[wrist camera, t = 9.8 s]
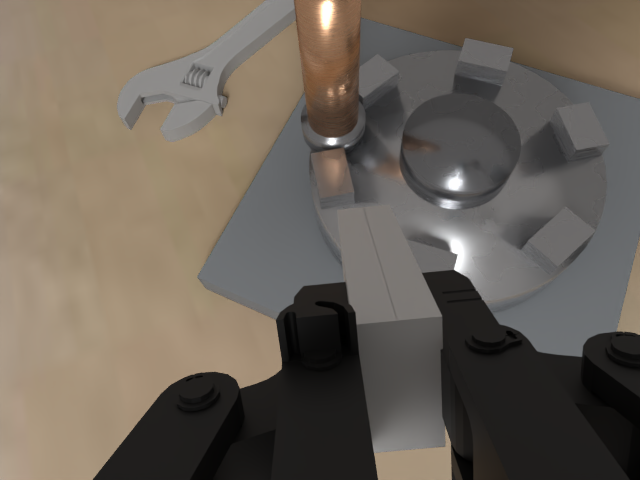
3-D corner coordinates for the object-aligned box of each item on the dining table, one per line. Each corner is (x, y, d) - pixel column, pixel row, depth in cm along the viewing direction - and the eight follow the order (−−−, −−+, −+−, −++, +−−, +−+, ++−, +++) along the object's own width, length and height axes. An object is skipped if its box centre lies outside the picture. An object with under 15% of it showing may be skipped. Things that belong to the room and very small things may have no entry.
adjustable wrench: (356, -58, 45) (356, -78, 43) (412, -21, 43) (415, -41, 41) (113, 110, 38) (103, 94, 37) (165, 163, 36) (156, 148, 35)
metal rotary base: (601, 116, 33) (740, -84, 21) (559, 357, 27) (721, 266, 15) (347, 58, 36) (346, -146, 24) (260, 263, 30) (202, 125, 18)
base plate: (654, 127, 35) (670, 108, 33) (571, 451, 27) (587, 449, 25) (349, 35, 40) (349, 14, 38) (205, 288, 32) (197, 277, 30)
